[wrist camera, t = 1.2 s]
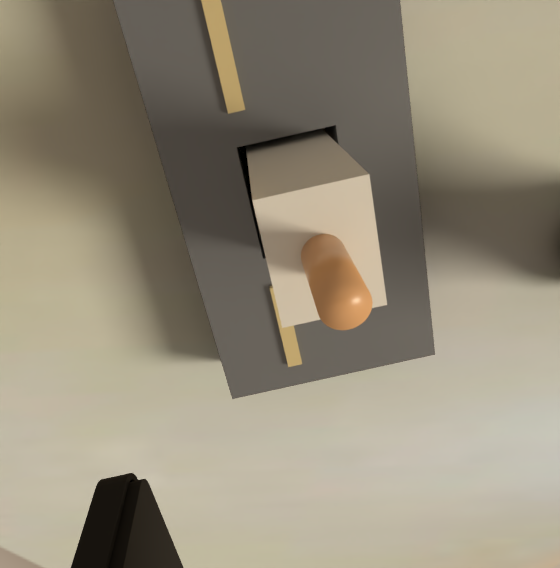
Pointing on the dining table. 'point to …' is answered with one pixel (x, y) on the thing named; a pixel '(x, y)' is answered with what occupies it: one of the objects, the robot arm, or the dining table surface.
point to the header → (271, 125)
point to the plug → (316, 230)
